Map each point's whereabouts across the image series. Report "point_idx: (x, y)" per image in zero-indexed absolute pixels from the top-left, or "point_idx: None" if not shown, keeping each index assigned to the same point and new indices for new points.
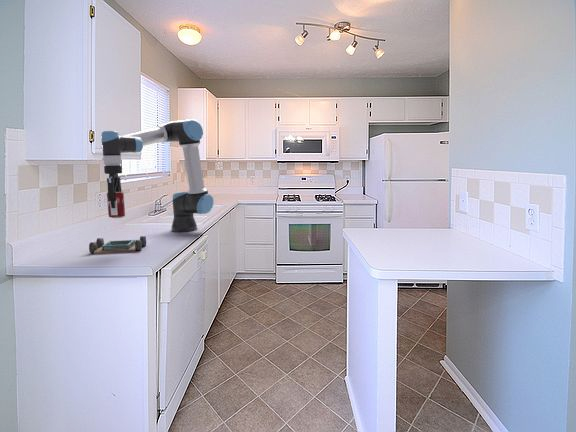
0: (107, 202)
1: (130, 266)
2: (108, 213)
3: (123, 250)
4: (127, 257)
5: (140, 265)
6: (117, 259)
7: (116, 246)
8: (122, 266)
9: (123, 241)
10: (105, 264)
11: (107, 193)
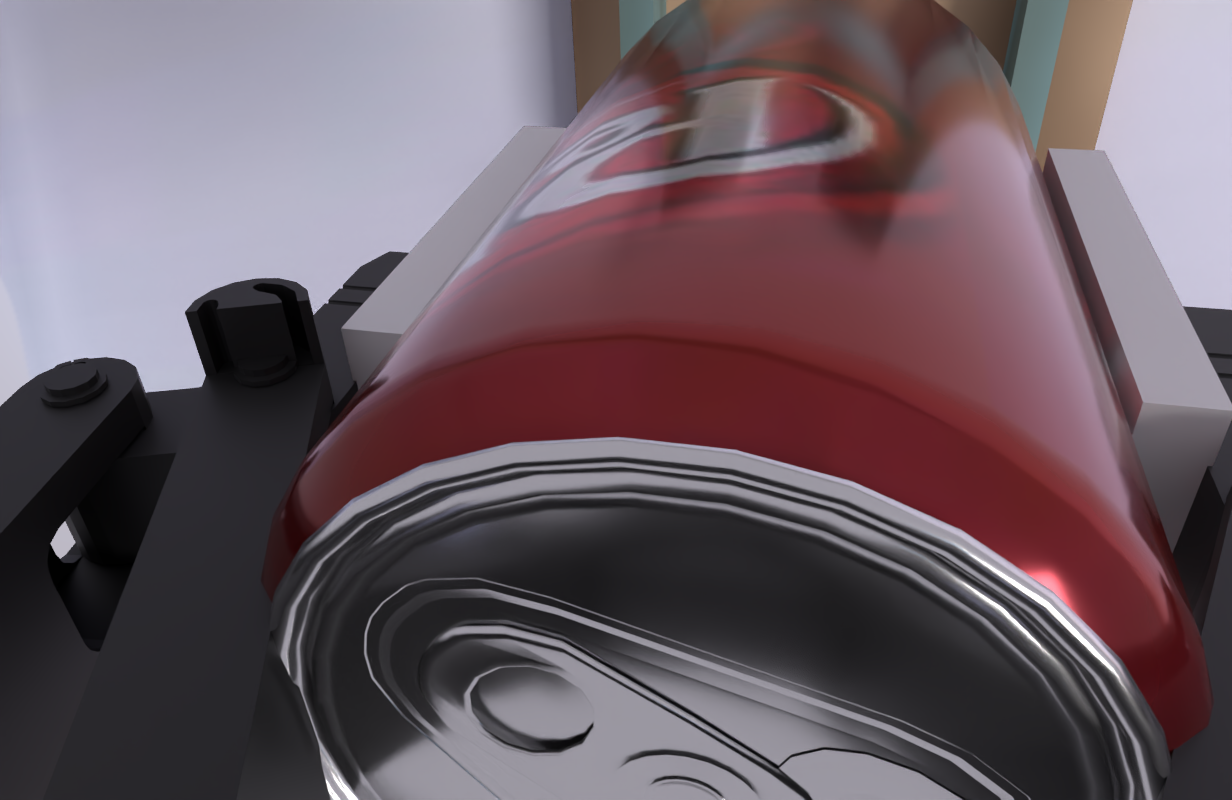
0: (615, 136)
1: (20, 282)
2: (685, 14)
3: (579, 110)
4: (331, 197)
5: (61, 351)
6: (244, 107)
7: (622, 14)
8: (6, 217)
9: (1016, 38)
10: (39, 31)
11: (348, 437)
